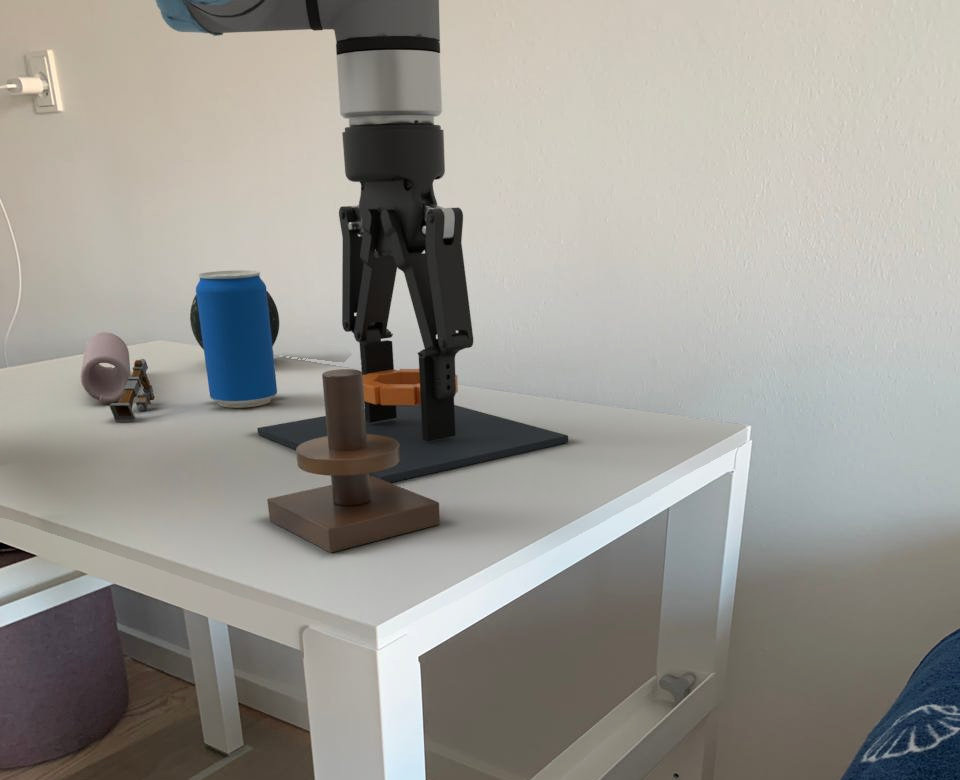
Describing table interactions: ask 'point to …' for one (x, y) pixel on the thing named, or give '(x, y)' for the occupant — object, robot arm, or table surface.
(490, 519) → the table surface
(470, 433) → the mat
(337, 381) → the stand
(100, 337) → the pink tube
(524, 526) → the table surface
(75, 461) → the table surface
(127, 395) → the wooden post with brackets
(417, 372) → the ring
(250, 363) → the beverage can
